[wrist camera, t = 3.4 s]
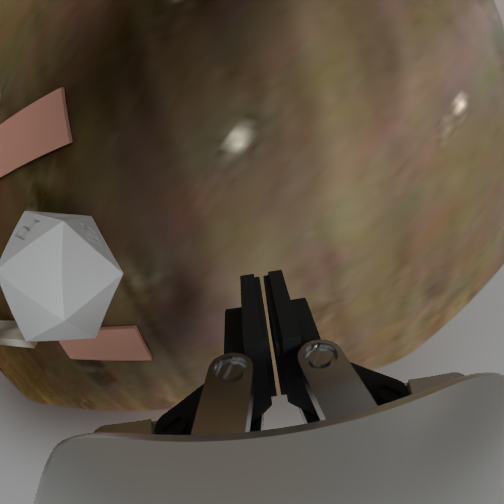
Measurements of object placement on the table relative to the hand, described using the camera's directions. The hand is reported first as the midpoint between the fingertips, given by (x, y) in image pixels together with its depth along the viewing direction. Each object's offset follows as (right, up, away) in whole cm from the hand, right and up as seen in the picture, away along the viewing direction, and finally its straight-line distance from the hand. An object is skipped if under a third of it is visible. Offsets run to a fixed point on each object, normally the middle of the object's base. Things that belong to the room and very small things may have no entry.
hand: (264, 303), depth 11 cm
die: (-13, +2, +6) cm, 15 cm away
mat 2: (-15, -6, +11) cm, 19 cm away
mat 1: (-17, +10, +2) cm, 20 cm away
